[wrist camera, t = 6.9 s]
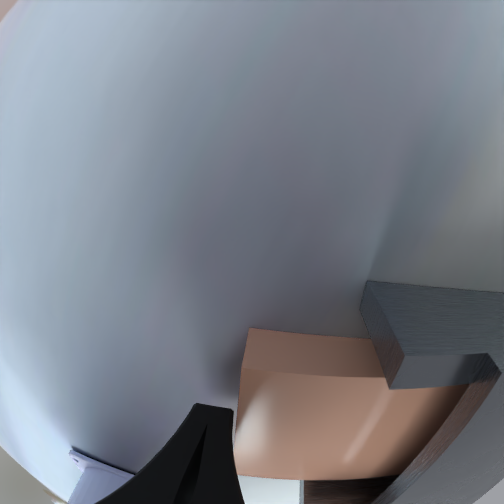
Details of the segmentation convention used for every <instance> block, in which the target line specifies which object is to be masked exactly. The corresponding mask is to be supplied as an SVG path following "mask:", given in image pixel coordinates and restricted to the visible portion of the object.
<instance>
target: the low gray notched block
mask: <svg viewBox="0 0 504 504" xmlns="http://www.w3.org/2000/svg"><path fill="white" fill-rule="evenodd" d="M360 311H361V314H362V317H363V319H364V322H365V324H366V327H367V329H368V332H369V335H370V337H371V340H372V343H373V345H374V348H375V351H376V353H377V356H378V359H379V362H380V365H381V367H382V370H383V373H384V376H385V379H386V382H387V385H388V388H389V390H395V389H417V388H432V387H444V386H454V385H462V384H470V385H469V386H468V388H467V389H466V391H465V393H464V394H463V396H462V397H461V399H460V400H459V402H458V403H457V405H456V406H455V408H454V409H453V411H452V412H451V414H450V415H449V416H448V418H447V419H446V421H445V422H444V423H443V425H442V426H441V427H440V429H439V430H438V431H437V433H436V434H435V435H434V436H433V438H432V439H431V440H430V441H429V443H428V444H427V445H426V446H425V448H424V449H423V450H422V451H421V452H420V454H419V455H418V456H417V457H416V458H415V459H414V460H413V462H412V463H411V464H410V465H409V466H408V467H407V468H406V469H405V470H404V471H403V473H402V474H398V475H391V476H383V477H373V478H362V479H346V480H300V502H299V504H472V503H474V502H475V501H476V500H478V499H479V498H480V497H482V496H483V495H484V494H485V493H487V492H488V491H489V490H490V489H491V488H493V487H494V486H495V485H496V484H497V483H498V482H500V480H502V479H503V478H504V293H498V292H485V291H473V290H461V289H449V288H437V287H426V286H415V285H405V284H394V283H384V282H373V281H367V283H366V287H365V291H364V295H363V298H362V302H361V306H360Z"/></svg>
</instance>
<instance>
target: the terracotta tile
mask: <svg viewBox="0 0 504 504" xmlns="http://www.w3.org/2000/svg"><path fill="white" fill-rule="evenodd" d="M469 385H470V384H462V385H454V386H444V387H432V388H417V389H395V390H389V388H388V385H387V382H386V379H385V376H384V373H383V370H382V367H381V365H380V362H379V359H378V356H377V353H376V351H375V348H374V345H373V343H372V340H371V339H366V338H350V337H336V336H323V335H312V334H301V333H291V332H282V331H273V330H265V329H256V328H249V331H248V336H247V342H246V347H245V352H244V357H243V362H242V367H241V378H240V388H239V399H238V410H237V420H236V431H235V441H234V452H233V453H234V460H235V466H236V471H237V475H243V476H251V477H261V478H273V479H289V480H346V479H362V478H373V477H383V476H391V475H398V474H402V473H403V471H404V470H405V469H406V468H407V467H408V466H409V465H410V464H411V463H412V462H413V460H414V459H415V458H416V457H417V456H418V455H419V454H420V452H421V451H422V450H423V449H424V448H425V446H426V445H427V444H428V443H429V441H430V440H431V439H432V438H433V436H434V435H435V434H436V433H437V431H438V430H439V429H440V427H441V426H442V425H443V423H444V422H445V421H446V419H447V418H448V416H449V415H450V414H451V412H452V411H453V409H454V408H455V406H456V405H457V403H458V402H459V400H460V399H461V397H462V396H463V394H464V393H465V391H466V389H467V388H468V386H469Z"/></svg>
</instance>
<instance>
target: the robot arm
mask: <svg viewBox="0 0 504 504" xmlns="http://www.w3.org/2000/svg"><path fill="white" fill-rule="evenodd" d="M233 415H234V411H233V410H232V409H229V408H222V407H216V406H210V405H205V404H199V403H196V404H194V405H193V407H192V409H191V411H190V412H189V414H188V415H187V417H186V418H185V420H184V421H183V423H182V424H181V425H180V427H179V428H178V430H177V431H176V432H175V433H174V435H173V436H172V437H171V438H170V440H169V441H168V442H167V443H166V444H165V446H164V447H163V448H162V449H161V450H160V451H159V452H158V453H157V454H156V455H155V456H154V458H153V459H152V460H151V461H150V462H149V463H148V464H147V465H146V466H145V467H144V468H142V469H141V470H140V471H139V472H138V473H137V474H136V475H133V474H130V473H127V472H124V471H121V470H119V469H116V468H113V467H111V466H108V465H106V464H103V463H101V462H98V461H96V460H93V459H91V458H89V457H86V456H84V455H82V454H80V453H77V452H75V451H73V450H70V452H69V455H70V457H71V458H72V460H73V461H74V462H75V464H76V465H77V466H78V468H79V469H80V470H81V472H82V473H83V474H82V476H81V477H80V479H79V481H78V483H77V485H76V487H75V489H74V491H73V493H72V495H71V497H70V499H69V501H68V503H67V504H245V503H244V500H243V496H242V493H241V489H240V485H239V481H238V476H237V471H236V466H235V460H234V453H233V444H232V429H233Z"/></svg>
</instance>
